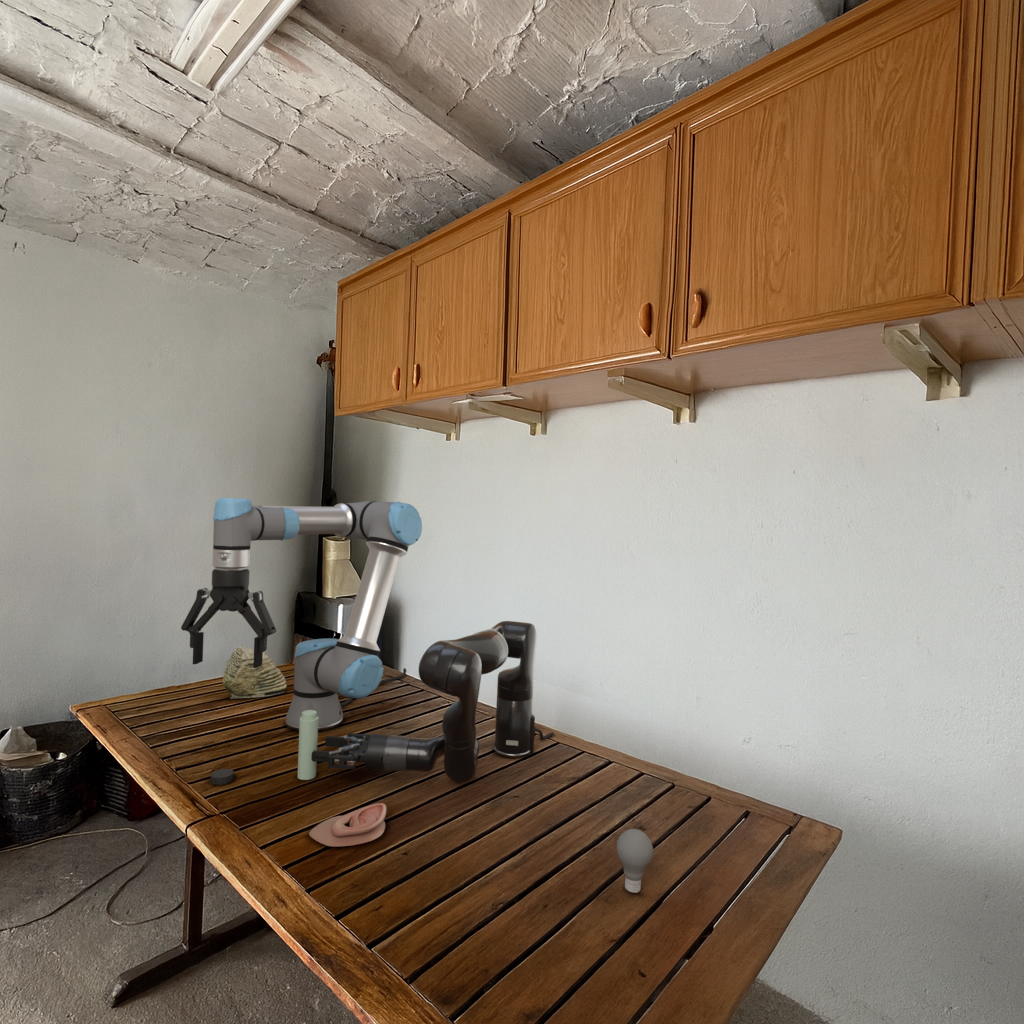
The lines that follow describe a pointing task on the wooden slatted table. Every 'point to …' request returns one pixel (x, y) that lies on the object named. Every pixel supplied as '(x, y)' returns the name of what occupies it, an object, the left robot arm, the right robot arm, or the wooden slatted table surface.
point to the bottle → (307, 744)
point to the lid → (222, 776)
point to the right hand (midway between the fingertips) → (319, 748)
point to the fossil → (252, 676)
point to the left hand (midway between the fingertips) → (227, 664)
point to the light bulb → (634, 857)
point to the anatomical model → (352, 827)
